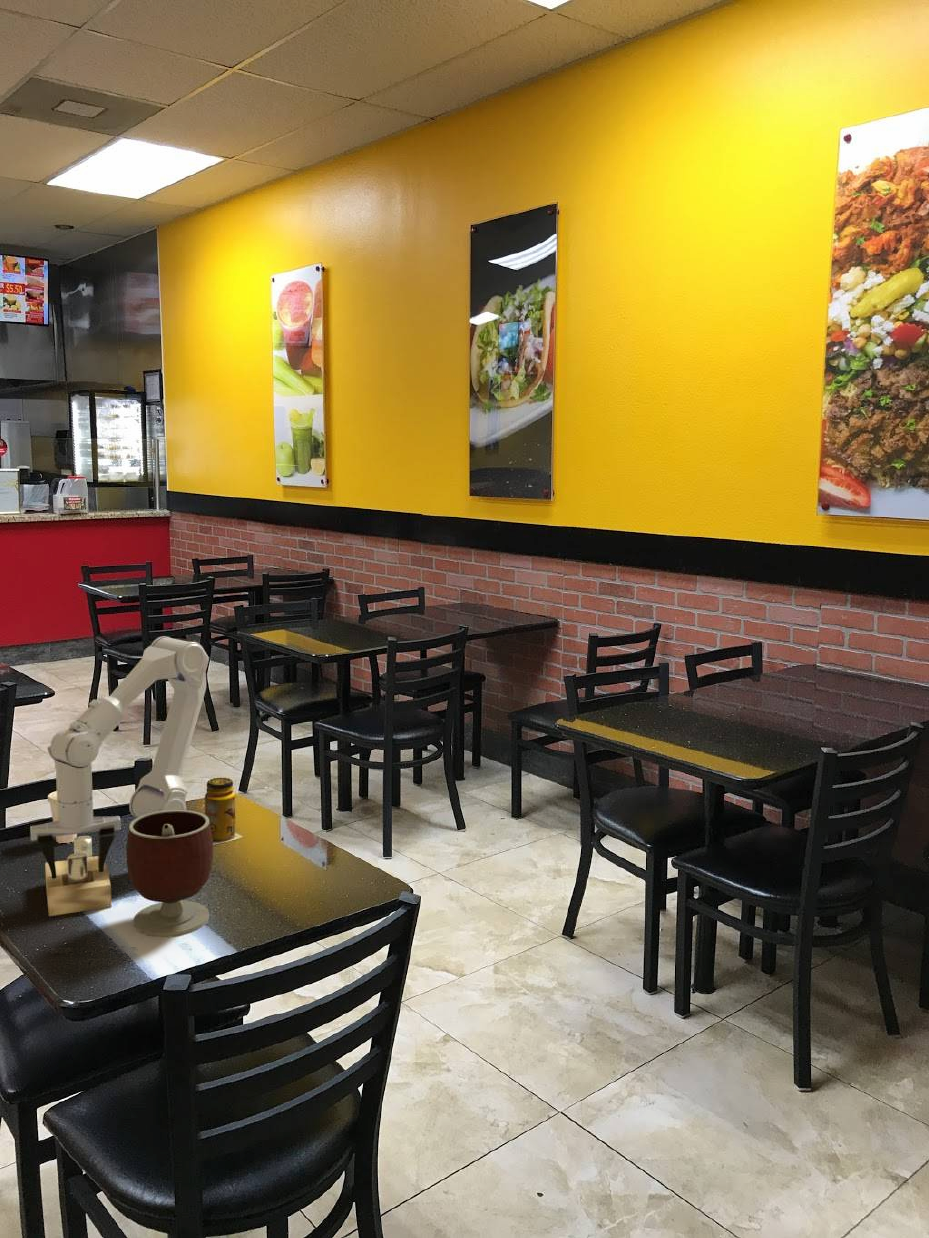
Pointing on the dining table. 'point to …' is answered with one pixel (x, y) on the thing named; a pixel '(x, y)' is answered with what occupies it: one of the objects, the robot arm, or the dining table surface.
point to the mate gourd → (170, 869)
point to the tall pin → (77, 868)
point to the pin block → (77, 889)
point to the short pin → (83, 845)
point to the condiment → (221, 810)
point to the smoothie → (53, 804)
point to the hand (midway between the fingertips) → (77, 873)
